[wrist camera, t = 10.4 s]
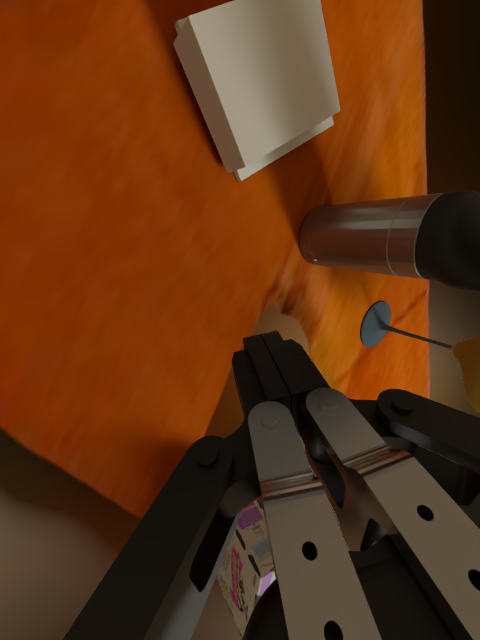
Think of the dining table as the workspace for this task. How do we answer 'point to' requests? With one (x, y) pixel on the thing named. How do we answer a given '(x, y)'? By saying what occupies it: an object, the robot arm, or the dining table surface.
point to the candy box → (246, 565)
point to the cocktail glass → (472, 354)
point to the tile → (258, 74)
